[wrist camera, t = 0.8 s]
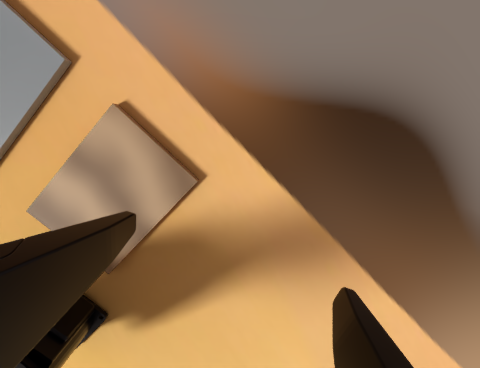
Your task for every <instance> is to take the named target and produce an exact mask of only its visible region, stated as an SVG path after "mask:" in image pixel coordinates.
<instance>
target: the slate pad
mask: <svg viewBox="0 0 480 368" xmlns="http://www.w3.org/2000/svg"><path fill="white" fill-rule="evenodd" d="M71 63H72V62H71V61H70V60H69V59H68V58H67V57H65V56H64V55H63V54H62V53H61V52H60V51H59V50H58V49H57V48H56V47H55V46H53V45H52V44H51V43H50V42H49V41H48V40H47V39H46V38H45V37H44V36H43V35H42V34H40V33H39V32H38V31H37V30H36V29H35V28H34V27H33V26H32V25H31V24H30V23H29V22H27V21H26V20H25V19H24V18H23V17H22V16H21V15H20V14H19V13H18V12H17V11H15V10H14V9H13V8H12V7H11V6H10V5H9V4H8V3H7V2H6V1H5V0H0V160H1V158H2V157H3V156H4V154H5V153H6V151H7V150H8V149H9V147H10V146H11V145H12V143H13V142H14V141H15V139H16V138H17V136H18V135H19V134H20V132H21V131H22V130H23V128H24V127H25V126H26V124H27V123H28V121H29V120H30V119H31V117H32V116H33V115H34V113H35V112H36V111H37V109H38V108H39V106H40V105H41V104H42V102H43V101H44V100H45V98H46V97H47V96H48V94H49V93H50V91H51V90H52V89H53V87H54V86H55V85H56V83H57V82H58V81H59V79H60V78H61V76H62V75H63V74H64V72H65V71H66V70H67V68H68V67H69V66H70V64H71Z"/></svg>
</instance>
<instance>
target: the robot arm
mask: <svg viewBox="0 0 480 368" xmlns="http://www.w3.org/2000/svg"><path fill="white" fill-rule="evenodd" d="M135 231H136V214H135V213H132V212H129V211H124V212H120V213H116V214H113V215H109V216H105V217H101V218H98V219H94V220H90V221H86V222H83V223H79V224H75V225H72V226H68V227H64V228H60V229H57V230H53V231H49V232H45V233H42V234H38V235H34V236H30V237H27V238H25V239H19V240H15V241H12V242H8V243H4V244H0V368H61V367H62V366H63V364H64V363H65V362H66V360H67V359H68V358H69V356H70V355H71V354H72V352H73V351H74V350H75V349H76V348H77V347H78V346H79V345H80V344H81V343H82V342H83V341H84V340H85V339H86V338H87V337H88V336H89V335H91V334H92V333H93V332H94V331H95V330H96V329H97V328H98V327H99V326H100V325H101V324H102V323H103V322H104V321H105V319H106V318H107V316H108V314H107V313H106V312H105V311H104V310H102V309H101V308H100V307H98V306H97V305H96V304H94V303H93V302H91V301H90V300H89V299H87V298H86V297H85V296H83V294H84V292H85V291H86V290H87V289H88V288H89V287H90V286H91V285H92V284H93V283H94V282H95V281H96V279H97V278H98V277H99V276H100V275H101V274H102V273H103V272H104V271H105V270H106V269H107V268H108V266H109V265H110V264H111V263H112V262H113V261H114V259H115V258H116V257H117V256H118V254H119V253H120V252H121V250H122V249H123V248H124V246H125V245H126V244H127V242H128V241H129V240H130V238H131V237H132V236H133V234H134V233H135ZM333 355H334V364H335V368H414V367H413V366H412V365H411V363H410V362H409V361H408V360H407V358H406V357H405V356H404V354H403V353H402V352H401V351H400V349H399V348H398V347H397V345H396V344H395V343H394V341H393V340H392V339H391V338H390V336H389V335H388V334H387V332H386V331H385V330H384V328H383V327H382V326H381V325H380V323H379V322H378V321H377V319H376V318H375V317H374V316H373V314H372V313H371V312H370V310H369V309H368V308H367V306H366V305H365V304H364V303H363V301H362V300H361V299H360V297H359V296H358V295H357V294H356V292H355V291H354V290H351V289H348V288H346V287H343V288H341V290H340V291H339V293H338V294H337V296H336V297H335V299H334V301H333Z"/></svg>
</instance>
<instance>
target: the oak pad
mask: <svg viewBox="0 0 480 368" xmlns="http://www.w3.org/2000/svg"><path fill="white" fill-rule="evenodd" d="M198 180H199V179H198V178H197V177H196V176H195V175H194V174H192V173H191V172H190V171H189V170H188V169H187V168H186V167H185V166H184V165H183V164H182V163H180V162H179V161H178V160H177V159H176V158H175V157H174V156H173V155H172V154H171V153H170V152H169V151H167V150H166V149H165V148H164V147H163V146H162V145H161V144H160V143H159V142H158V141H157V140H156V139H154V138H153V137H152V136H151V135H150V134H149V133H148V132H147V131H146V130H145V129H144V128H142V127H141V126H140V125H139V124H138V123H137V122H136V121H135V120H134V119H133V118H132V117H131V116H129V115H128V114H127V113H126V112H125V111H124V110H123V109H122V108H121V107H120V106H119V105H117V104H112V105H111V106H110V107H109V109H108V110H107V111H106V112H105V114H104V115H103V116H102V117H101V119H100V120H99V121H98V122H97V124H96V125H95V126H94V127H93V129H92V130H91V131H90V132H89V134H88V135H87V136H86V137H85V139H84V140H83V141H82V142H81V143H80V145H79V146H78V147H77V148H76V150H75V151H74V152H73V153H72V155H71V156H70V157H69V158H68V160H67V161H66V162H65V163H64V165H63V166H62V167H61V168H60V170H59V171H58V172H57V173H56V175H55V176H54V177H53V178H52V180H51V181H50V182H49V183H48V185H47V186H46V187H45V188H44V190H43V191H42V192H41V193H40V195H39V196H38V197H37V198H36V200H35V201H34V202H33V203H32V205H31V206H30V207H29V208H28V210H27V211H26V212H28V213H29V214H30V215H32V216H33V217H34V218H36V219H37V220H38V221H40V222H41V223H42V224H44V225H45V226H46V227H47V228H49V229H50V230H51V231H53V230H57V229H60V228H64V227H68V226H72V225H75V224H79V223H83V222H86V221H90V220H94V219H98V218H101V217H105V216H109V215H113V214H116V213H120V212H124V211H129V212H132V213H135V214H136V231H135V233H134V234H133V236H132V237H131V238H130V240H129V241H128V242H127V244H126V245H125V246H124V248H123V249H122V250H121V252H120V253H119V254H118V256H117V257H116V258H115V259H114V261H113V262H112V263H111V264H110V265H109V266H108V268H107V269H106V270H105V272H106V273H108V274H109V273H110V272H111V271H112V270H113V269H114V268H115V267H116V266H117V265H118V264H119V263H120V262H121V261H122V260H123V259H124V258H125V257H126V256H127V254H128V253H129V252H130V251H131V250H132V249H133V248H134V247H135V246H136V245H137V244H138V243H139V242H140V241H141V240H142V239H143V238H144V237H145V236H146V235H147V234H148V233H149V232H150V230H151V229H152V228H153V227H154V226H155V225H156V224H157V223H158V222H159V221H160V220H161V219H162V218H163V217H164V216H165V215H166V214H167V213H168V212H169V211H170V210H171V209H172V208H173V206H174V205H175V204H176V203H177V202H178V201H179V200H180V199H181V198H182V197H183V196H184V195H185V194H186V193H187V192H188V191H189V190H190V189H191V188H192V187H193V186H194V185H195V184H196V183H197V181H198Z"/></svg>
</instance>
